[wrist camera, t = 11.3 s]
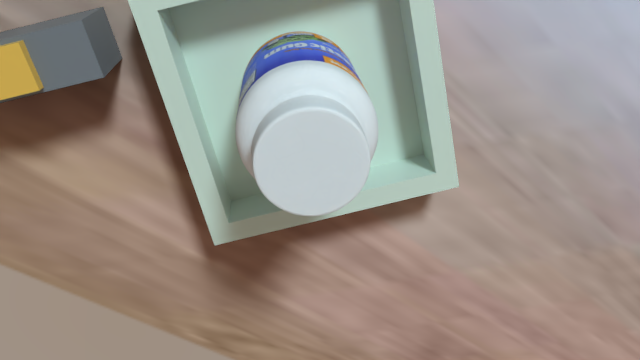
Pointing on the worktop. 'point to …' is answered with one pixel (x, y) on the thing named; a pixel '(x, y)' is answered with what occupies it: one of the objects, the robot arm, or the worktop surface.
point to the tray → (226, 80)
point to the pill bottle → (305, 124)
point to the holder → (56, 54)
